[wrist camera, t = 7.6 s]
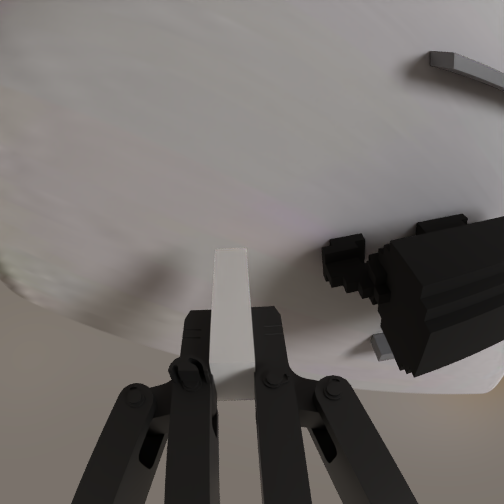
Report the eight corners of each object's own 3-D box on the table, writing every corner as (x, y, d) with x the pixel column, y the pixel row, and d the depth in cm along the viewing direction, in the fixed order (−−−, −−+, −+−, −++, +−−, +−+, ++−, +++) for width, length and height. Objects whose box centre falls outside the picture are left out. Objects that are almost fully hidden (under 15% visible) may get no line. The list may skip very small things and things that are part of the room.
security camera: (316, 211, 19) (373, 328, 11) (512, 180, 18) (592, 244, 10) (322, 291, 23) (359, 405, 15) (498, 247, 22) (559, 317, 14)
